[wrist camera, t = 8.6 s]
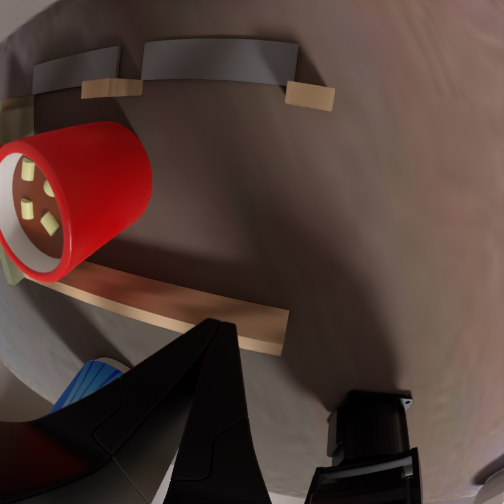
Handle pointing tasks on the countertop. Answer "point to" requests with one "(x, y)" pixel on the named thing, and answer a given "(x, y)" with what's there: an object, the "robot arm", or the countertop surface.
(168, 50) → the wooden box
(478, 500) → the bowl
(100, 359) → the beer can
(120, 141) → the mug
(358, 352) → the countertop surface
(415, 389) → the countertop surface
